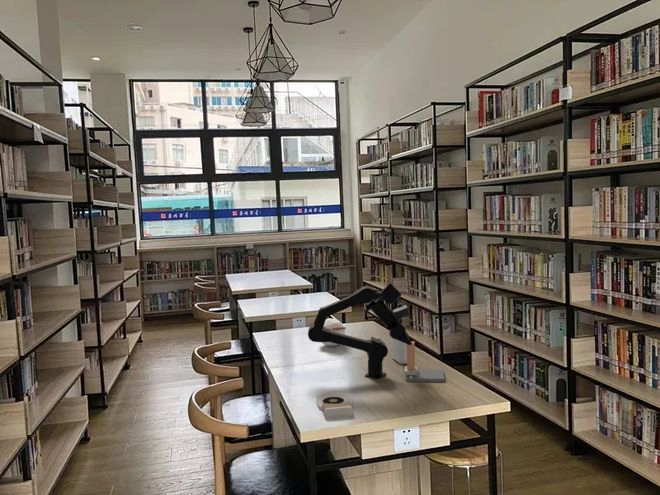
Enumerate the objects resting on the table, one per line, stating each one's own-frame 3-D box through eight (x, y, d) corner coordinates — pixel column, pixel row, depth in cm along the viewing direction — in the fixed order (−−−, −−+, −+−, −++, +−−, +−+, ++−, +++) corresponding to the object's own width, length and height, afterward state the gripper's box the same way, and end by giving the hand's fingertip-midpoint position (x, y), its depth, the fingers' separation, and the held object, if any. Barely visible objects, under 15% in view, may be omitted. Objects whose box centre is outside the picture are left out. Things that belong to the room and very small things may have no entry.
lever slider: (404, 375, 206) (403, 344, 205) (404, 369, 213) (404, 340, 212) (417, 375, 205) (417, 344, 204) (417, 369, 212) (417, 340, 211)
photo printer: (409, 363, 226) (408, 334, 226) (400, 364, 225) (399, 335, 224) (399, 357, 236) (398, 329, 235) (390, 358, 235) (389, 330, 234)
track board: (405, 381, 204) (405, 377, 203) (406, 371, 215) (406, 368, 215) (444, 381, 201) (444, 378, 201) (442, 372, 213) (442, 369, 213)
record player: (320, 409, 170) (314, 389, 190) (321, 419, 170) (314, 398, 190) (356, 406, 172) (346, 387, 192) (357, 416, 172) (346, 395, 192)
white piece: (340, 346, 272) (334, 319, 275) (353, 341, 249) (346, 312, 252) (314, 352, 268) (308, 325, 272) (324, 347, 245) (317, 318, 248)
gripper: (400, 303, 199) (428, 334, 200) (396, 293, 218) (421, 321, 219) (378, 323, 201) (406, 353, 202) (376, 311, 219) (401, 339, 220)
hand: (409, 340), depth 210 cm, fingers open, 9 cm apart
